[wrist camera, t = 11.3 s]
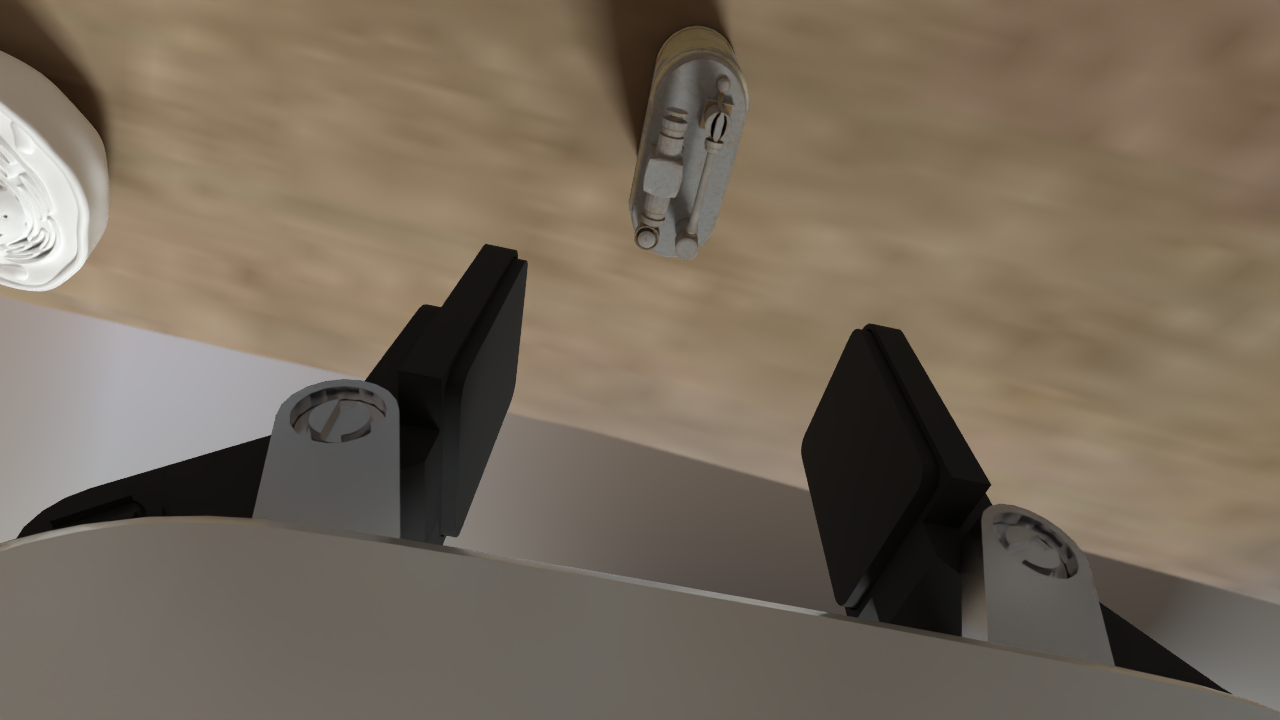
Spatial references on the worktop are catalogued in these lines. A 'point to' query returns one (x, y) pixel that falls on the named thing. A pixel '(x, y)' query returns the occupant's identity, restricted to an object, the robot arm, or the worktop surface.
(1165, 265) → the worktop surface
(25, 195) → the cell model
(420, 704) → the robot arm
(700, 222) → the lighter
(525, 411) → the worktop surface
